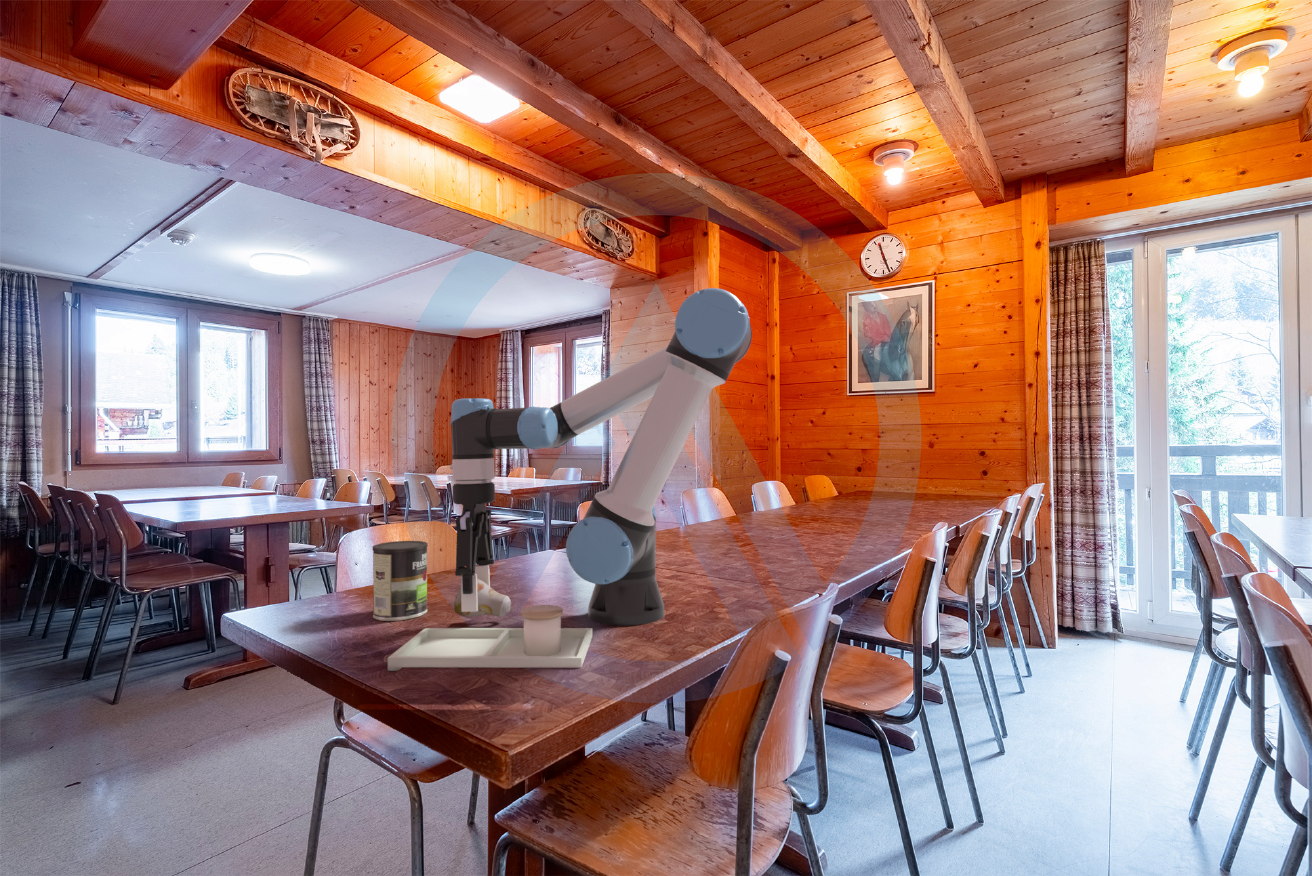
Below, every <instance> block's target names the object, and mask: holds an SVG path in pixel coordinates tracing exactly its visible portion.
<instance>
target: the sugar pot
mask: <svg viewBox="0 0 1312 876" xmlns="http://www.w3.org/2000/svg"><path fill="white" fill-rule="evenodd" d="M563 614H564V612H563V608H562V607H561V606H558V605H555V604H554V605H552V604H537V605H532V606H528V607H525V608H523V609H522V610H521V616H522V618H523V628H524V654H526V655H528V656H552V655H555V654H557V653H559V652H560V651H561V628H562V626H561V625H562V615H563Z"/></svg>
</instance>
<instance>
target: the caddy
mask: <svg viewBox="0 0 1312 876" xmlns="http://www.w3.org/2000/svg"><path fill="white" fill-rule="evenodd" d="M592 638H593V628H592V627H584V628H583V627H582V628H581V627H573V628H572V627H563V628H562V627H561V651H560V652H559V653H557V654H555V655H552V656H528V655H526V654H524V627H424V628H423V629H422V630H421V631H420V632H418V633H417V634H416V635H414V636H413V637H412V638H410V640H409V641H406V642H405V644H403V645H402V646H401V647H399V648H398V649H397V650H395V651H394V652H393V653H392V654H391V655H390V656H388V657H387V671H388V672H390V671H391V672H398V671H400V670H401V669H402V668H512V669H513V668H521V669H522V668H523V669H524V668H525V669H526V668H527V669H528V668H531V669H532V668H533V669H534V668H539V669H540V668H543V669H544V668H545V669H546V668H548V669H549V668H555V669H556V668H561V669H562V668H564V669H565V668H566V669H567V668H568V669H569V668H570V669H571V668H573V669H574V668H575V669H577V668H578V669H579V668H580V669H581V668H582V667H583V665H584V661H585V659H586V656H587V653H588V650H589V648H590V645H591V643H592Z"/></svg>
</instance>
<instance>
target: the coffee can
mask: <svg viewBox="0 0 1312 876" xmlns="http://www.w3.org/2000/svg"><path fill="white" fill-rule="evenodd" d="M428 546H429V543H428V542H426V541H421V540H399V541H388V542H382V543H377V544H375V545H373V546H372V551H373V552H372V553H373V554H372V557H373V558H372V559H373V561H372V562H373V567H372V569H373V572H372V573H373V576H372V578H373V579H372V581H373V582H372V583H373V587H372V588H373V593H372V594H373V596H372V597H373V610H372V611H373V612H372V613H373V615H372V618H373V619H374V620H377V621H383V622H398V621H405V620H406V621H407V620H411V619H416V618H420V617H422V616H424V615H426V614H427V613H428Z"/></svg>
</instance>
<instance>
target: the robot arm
mask: <svg viewBox="0 0 1312 876" xmlns="http://www.w3.org/2000/svg"><path fill="white" fill-rule="evenodd" d="M752 333H753V331H752V325H751V322H750V316H749V313H748V309H747V307H746V306H745V305H744V303H743V302H742V301H741V300H740V299H739V298H738V297H737V296H736V295H734V294H733V293H731V292H730V291H728V290H726V289H722V288H717V287H709V288H704V289H700V290H697V291H695V292H693V293H692V294H690V295H689V296H688V297H687V298H686V299H684V301H683V302H682V303H681V304H680V306H679V308H678V311H677V313H676V317H675V321H674V333H673V335H672V337H671V339H670V341H669V343H668V345H667V346H665V347H663V348H662V349H660V350H657V351H656V352H654V353H651V355H648V356H647V357H644V358H643V359H641V360H639V361H637V362H635V363H633V364H631V365H629V366H627V367H625V368H623V369H621V370H619V371H617V372H616V373H614V374H612V375H610V376H608V377H606V378H604V379H602V380H600V381H598V382H597V383H595V384H593V385H591V386H589V387H587V388H585V389H583V390H581V391H580V392H577V393H576V394H573V395H572V396H570V397H568V398H566V399H564V400H562V401H561V402H559V403H557V404H555V405H553V406H551V407H545V406H543V407H541V406H529V407H513V408H495V407H494V404H493V403H494V402H493V401H492V400H491V399H489V398H480V397H479V398H478V397H477V398H459V399H455V400H454V401H453V402H452V404H451V415H450V416H451V418H450V426H451V429H450V430H451V448H452V449H451V450H452V451H451V452H452V453H451V455H452V456H451V457H452V458H451V459H452V461H451V463H452V464H450V465H449V468H450V470H452V481H454V482H455V483H454V484H453V485H452V502H453V504H456V505H462V512H461V515H460V517H456V519H455V528H456V549H455V550H456V552H455V553H456V554H455V555H456V556H455V566H456V567H455V572H454V574H455V576H457V577H459V576H460V586H461V609H462V612H474V611H478V593H477V578H478V579H480V580H482V581H483V582H485V583H486V584H487V585H488V586H490V587H491V580H490V579H491V578H490V571H491V570H490V565H494V563H495V559H493V558H494V555H493V553H494V552H493V540H492V539H493V538H492V522H491V521H492V510H491V509H487V507H486V504H490V503H494V501H495V499H496V491H495V487H496V484H495V483H494V482H492V481H493V480H494V479H495V478H496V477H495V474H496V472H495V450H526V449H527V450H529V449H530V450H540V449H553V450H554V449H559V448H560V447H563V446H566V445H567V444H568V443H570V441H571V440H572V439H573V438H576V437H577V436H578V435H581V434H582V433H584V432H587V431H588V430H590V429H593V428H594V427H596V426H599V425H601V424H602V423H604V422H606V421H608V420H610V419H612V418H614V417H616V416H618V415H620V414H622V413H625V412H627V411H629V410H630V409H632V408H634V407H636V406H638V405H641V404H642V403H644V402H646V401H648V400H650V399H651V400H650V402H649V404H648V406H647V408H646V410H645V412H644V414H643V416H642V418H641V420H640V422H639V425H638V426H637V428H636V431H635V433H634V435H633V437H632V439H631V440H630V443H629V445H628V447H627V448H626V451H625V453H624V455H623V457H622V459H621V461H620V463H619V465H618V466H617V469H616V471H615V473H614V475H613V477H612V479H611V482H610V483H609V486H608V488H607V489H604V490H601V491H599V492H598V491H597V492H596V493H595V494H594V497H593V499H592V501H591V502H590V505H589V507H588V509H587V511H586V512H585V515H584V517H583V519H580V520H579V521H578V522H577V523H576V524H574V526H573V527H572V528H571V530H570V531H569V534H568V535H567V538H566V544H565V551H566V553H565V554H566V557H567V560H568V563H569V565H570V567H571V569H572V570H573V571H574V572H575V574H576V575H578V576H579V577H580V578H581V579H582V580H584V581H586V582H588V583H591V584H594V587H593V590H592V594H591V597H590V600H589V603H588V607H587V611H588V612H587V613H588V619H590V621H593V622H595V623H598V624H603V625H608V626H622V627H628V626H629V627H630V626H631V627H633V626H642V625H647V624H652V623H655V622H657V621H660V620H661V619H663V618H665V602H664V601H663V597H662V594H661V591H660V588H659V585H658V582H657V581H658V580H657V579H656V577H657V576H656V549H657V548H656V543H657V542H656V540H657V539H656V533H657V532H656V530H657V529H656V522H657V515H656V507H655V504H656V503H657V500H658V498H659V497H660V494H661V492H662V490H663V489H664V486H665V484H666V483H667V480H668V478H669V476H670V474H671V472H672V470H673V469H674V466H675V464H676V463H677V461H678V458H679V456H680V454H681V453H682V450H683V448H684V446H685V444H686V442H687V441H688V439H689V436H690V434H691V433H692V430H693V428H694V426H695V424H696V423H697V420H698V418H699V416H700V415H701V413H702V410H703V409H704V406H705V404H706V402H707V401H708V398H709V396H710V395H711V392H712V390H713V389H714V388H715V387H718V386H721V385H724V384H726V382H727V380H728V378H729V376H730V375H731V372H732V370H733V368H734V366H735V364H736V363H738V362H739V361H741V360H742V359H743V358H744V357H745V356H746V354H747V352H748V351H749V349H750V347H751V344H752V340H753V339H752V338H753V334H752Z"/></svg>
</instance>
